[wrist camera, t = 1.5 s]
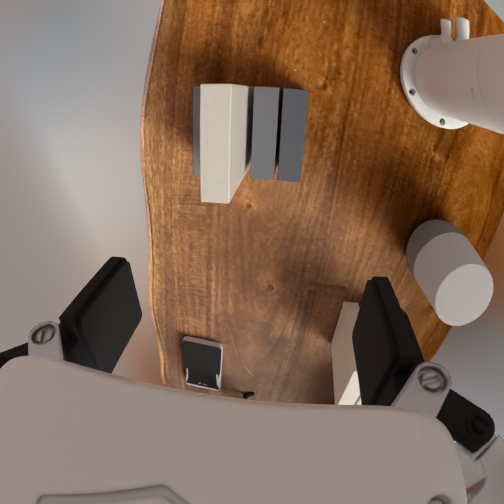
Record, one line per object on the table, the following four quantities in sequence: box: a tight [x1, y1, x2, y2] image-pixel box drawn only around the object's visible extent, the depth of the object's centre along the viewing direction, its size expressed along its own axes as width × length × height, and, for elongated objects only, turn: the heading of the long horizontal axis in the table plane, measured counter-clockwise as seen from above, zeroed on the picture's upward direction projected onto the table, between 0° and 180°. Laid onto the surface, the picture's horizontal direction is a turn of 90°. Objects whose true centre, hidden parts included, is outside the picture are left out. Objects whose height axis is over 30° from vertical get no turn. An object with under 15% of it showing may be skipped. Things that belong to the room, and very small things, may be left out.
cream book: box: [200, 84, 254, 203], centre depth 29 cm, size 10×2×14 cm, turn 178°
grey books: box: [193, 86, 308, 182], centre depth 32 cm, size 10×12×6 cm
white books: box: [331, 302, 403, 405], centre depth 42 cm, size 10×11×14 cm
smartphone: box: [182, 336, 223, 390], centre depth 58 cm, size 8×1×15 cm
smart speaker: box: [406, 219, 493, 326], centre depth 33 cm, size 10×9×14 cm
